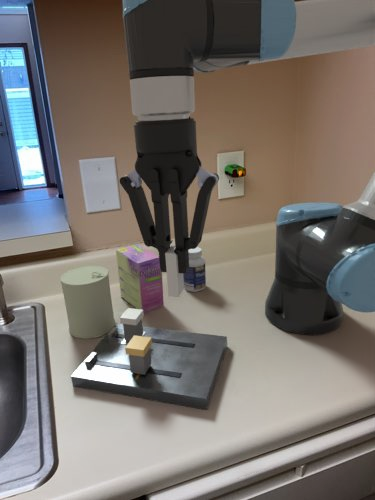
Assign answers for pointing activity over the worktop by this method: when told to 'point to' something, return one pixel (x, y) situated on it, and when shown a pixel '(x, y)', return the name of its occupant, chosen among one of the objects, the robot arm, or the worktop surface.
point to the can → (88, 301)
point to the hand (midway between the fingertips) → (176, 292)
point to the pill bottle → (195, 271)
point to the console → (156, 367)
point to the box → (140, 277)
